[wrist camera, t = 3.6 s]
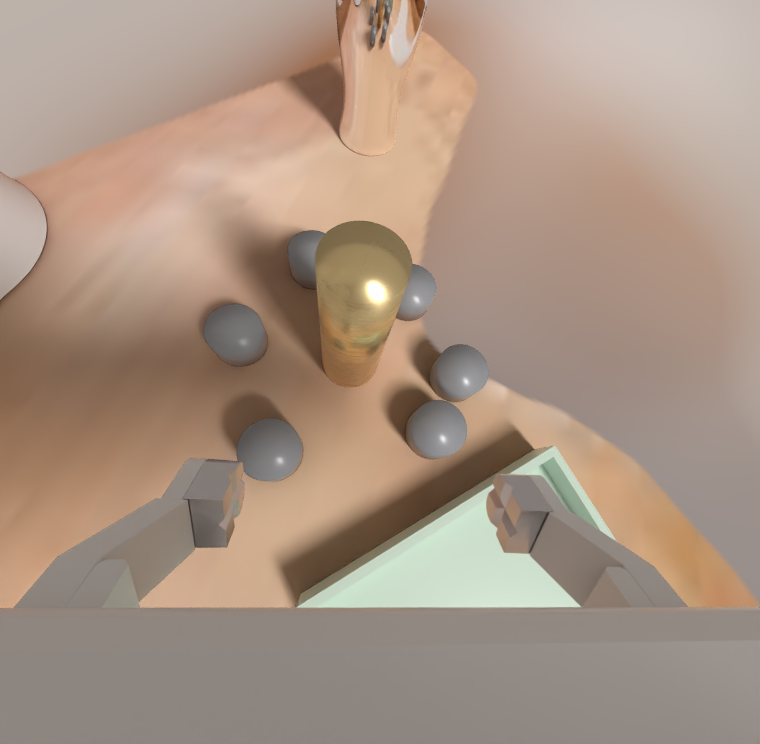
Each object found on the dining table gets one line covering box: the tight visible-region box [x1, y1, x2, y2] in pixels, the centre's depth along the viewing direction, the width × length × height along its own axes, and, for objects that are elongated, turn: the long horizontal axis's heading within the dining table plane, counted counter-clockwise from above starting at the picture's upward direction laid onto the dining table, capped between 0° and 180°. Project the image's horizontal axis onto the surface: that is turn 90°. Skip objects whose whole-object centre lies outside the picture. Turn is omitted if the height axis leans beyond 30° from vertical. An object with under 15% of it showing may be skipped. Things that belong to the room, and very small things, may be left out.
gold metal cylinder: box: [315, 221, 412, 387], centre depth 21 cm, size 4×4×13 cm
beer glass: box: [336, 0, 428, 156], centre depth 29 cm, size 7×7×15 cm
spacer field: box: [204, 230, 489, 482], centre depth 26 cm, size 19×21×2 cm
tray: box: [297, 445, 616, 608], centre depth 22 cm, size 20×14×3 cm
